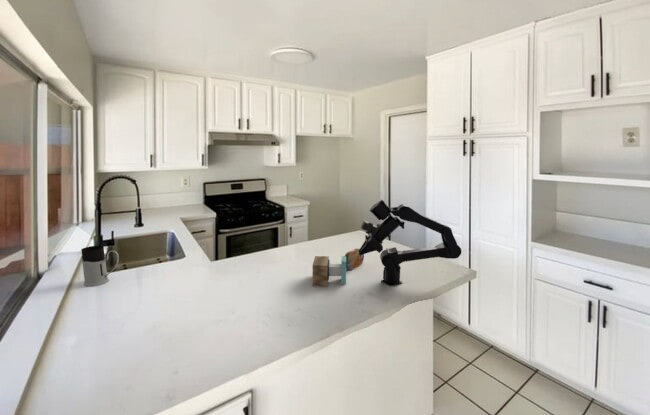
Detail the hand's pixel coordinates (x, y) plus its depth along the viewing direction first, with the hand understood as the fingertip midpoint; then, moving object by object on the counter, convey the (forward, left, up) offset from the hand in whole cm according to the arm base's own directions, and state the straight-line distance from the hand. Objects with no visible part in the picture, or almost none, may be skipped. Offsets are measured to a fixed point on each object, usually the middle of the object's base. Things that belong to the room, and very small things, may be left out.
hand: (359, 253), depth 135 cm
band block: (+10, +12, -13) cm, 20 cm away
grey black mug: (+63, +87, -13) cm, 109 cm away
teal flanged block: (+6, +7, -12) cm, 15 cm away
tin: (+15, -11, -13) cm, 23 cm away
